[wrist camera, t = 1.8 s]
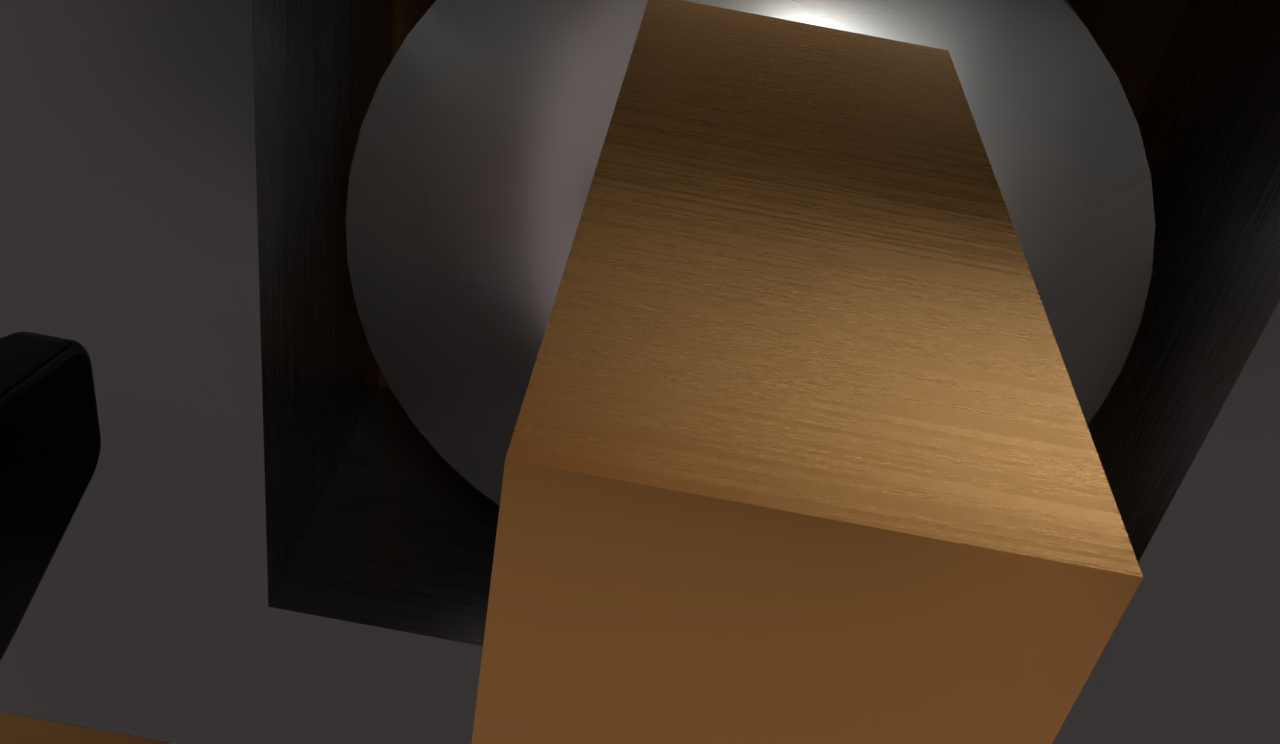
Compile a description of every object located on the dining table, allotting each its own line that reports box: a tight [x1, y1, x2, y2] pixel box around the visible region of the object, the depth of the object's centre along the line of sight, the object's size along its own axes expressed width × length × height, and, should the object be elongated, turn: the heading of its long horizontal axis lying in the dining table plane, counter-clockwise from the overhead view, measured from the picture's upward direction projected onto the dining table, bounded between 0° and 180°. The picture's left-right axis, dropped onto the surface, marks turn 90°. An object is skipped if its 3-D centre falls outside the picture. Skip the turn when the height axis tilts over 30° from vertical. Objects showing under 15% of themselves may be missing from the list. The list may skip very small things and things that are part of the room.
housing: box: [0, 0, 1280, 744], centre depth 12 cm, size 16×13×4 cm
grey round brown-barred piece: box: [345, 0, 1155, 744], centre depth 9 cm, size 7×7×9 cm
